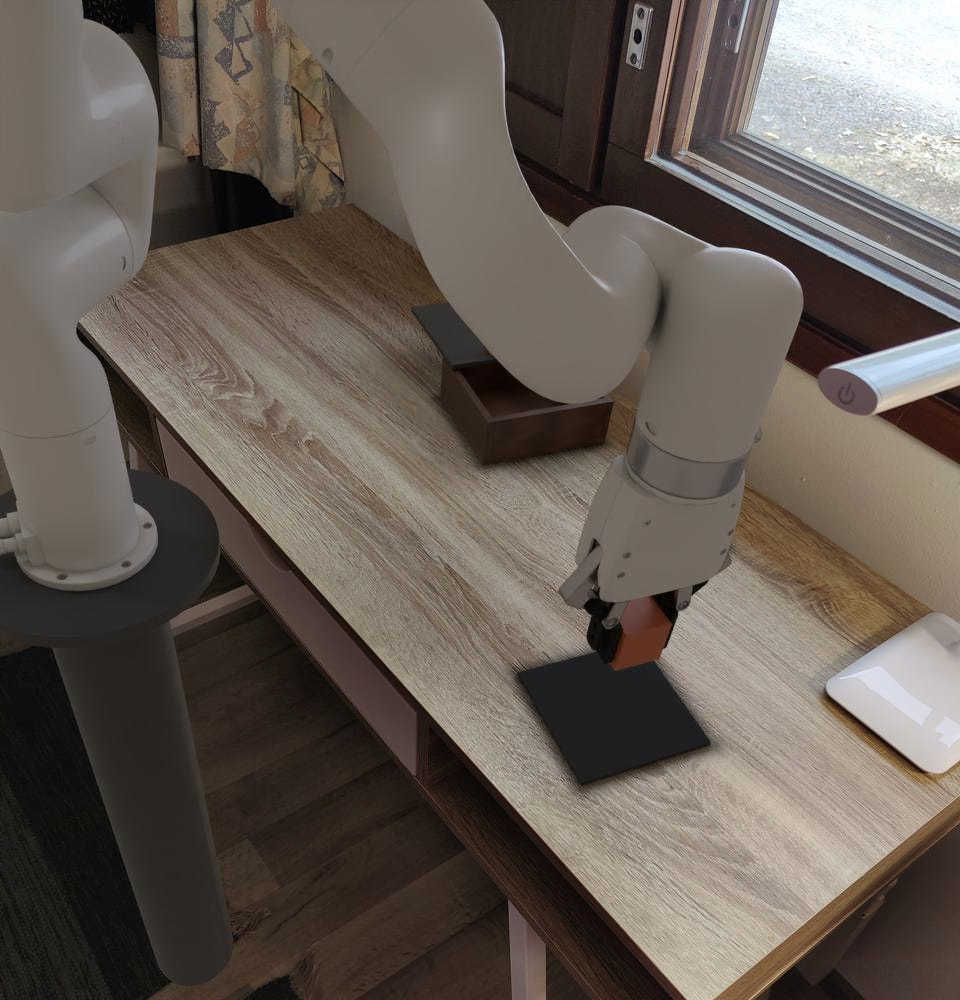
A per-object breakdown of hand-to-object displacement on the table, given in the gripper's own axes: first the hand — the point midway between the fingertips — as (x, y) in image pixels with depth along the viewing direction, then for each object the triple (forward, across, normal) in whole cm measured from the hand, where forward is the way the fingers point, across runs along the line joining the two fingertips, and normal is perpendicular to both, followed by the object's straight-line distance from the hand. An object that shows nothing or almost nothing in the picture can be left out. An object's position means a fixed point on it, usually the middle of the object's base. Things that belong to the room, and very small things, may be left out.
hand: (626, 641), depth 76 cm
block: (+1, 0, 0) cm, 1 cm away
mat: (+8, 0, 0) cm, 8 cm away
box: (+8, -10, -40) cm, 42 cm away
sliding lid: (+3, -10, -50) cm, 51 cm away
